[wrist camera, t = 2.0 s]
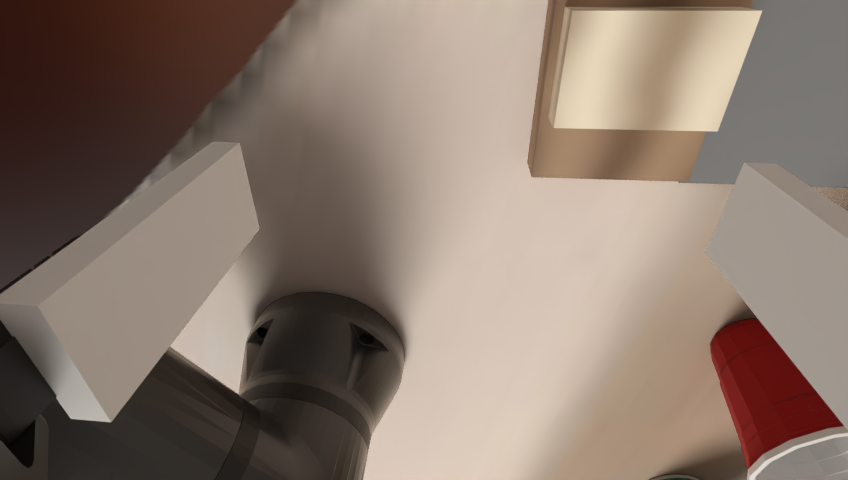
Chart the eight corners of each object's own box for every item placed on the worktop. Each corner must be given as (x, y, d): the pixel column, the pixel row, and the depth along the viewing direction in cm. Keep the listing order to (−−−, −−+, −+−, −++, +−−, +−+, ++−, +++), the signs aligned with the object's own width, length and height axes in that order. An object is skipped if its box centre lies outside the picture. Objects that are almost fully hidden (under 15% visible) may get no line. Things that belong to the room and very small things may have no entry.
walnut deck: (527, 162, 31) (531, 177, 29) (559, -82, 23) (568, -86, 21) (673, 166, 30) (688, 181, 28) (755, -85, 23) (785, -90, 20)
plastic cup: (696, 396, 43) (766, 531, 32) (664, 323, 38) (734, 455, 28) (825, 362, 39) (950, 503, 29) (807, 277, 34) (948, 410, 24)
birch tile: (548, 117, 27) (553, 128, 25) (565, 7, 23) (572, 10, 22) (701, 120, 26) (717, 131, 24) (740, 6, 23) (762, 10, 21)
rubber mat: (676, 179, 31) (679, 182, 30) (774, -110, 22) (780, -111, 22) (889, 185, 30) (895, 189, 29) (1081, -116, 21) (1093, -117, 20)
